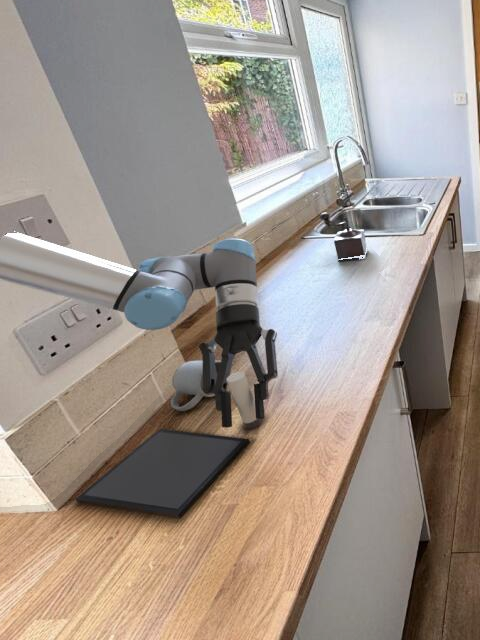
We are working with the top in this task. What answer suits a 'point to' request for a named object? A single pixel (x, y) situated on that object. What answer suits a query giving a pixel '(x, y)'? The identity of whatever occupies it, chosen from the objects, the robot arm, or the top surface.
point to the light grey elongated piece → (243, 399)
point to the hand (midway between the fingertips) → (243, 422)
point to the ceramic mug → (190, 383)
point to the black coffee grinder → (347, 240)
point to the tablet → (165, 473)
